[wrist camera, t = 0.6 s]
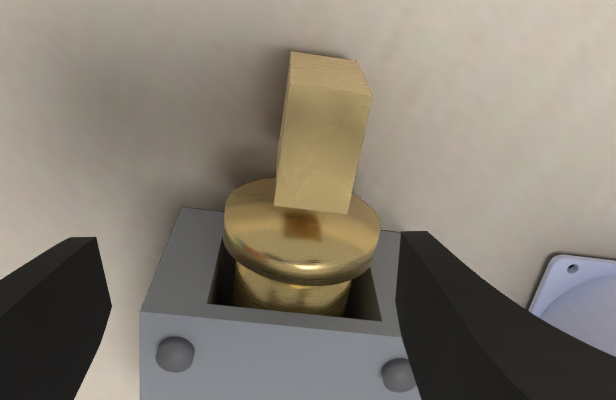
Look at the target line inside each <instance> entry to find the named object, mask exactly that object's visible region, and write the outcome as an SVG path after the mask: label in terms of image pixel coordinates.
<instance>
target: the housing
mask: <svg viewBox="0 0 616 400" xmlns="http://www.w3.org/2000/svg"><path fill="white" fill-rule="evenodd" d="M224 213H225V212H220V211H212V210H203V209H195V208H186V207H182V208H181V210H180V213H179V215H178V218H177V220H176V223H175V225H174V228H173V230H172V233H171V235H170V238H169V240H168V243H167V245H166V248H165V250H164V253H163V255H162V258H161V260H160V263H159V265H158V268H157V270H156V273H155V275H154V278H153V280H152V283H151V285H150V288H149V290H148V293H147V295H146V298H145V300H144V303H143V305H142V308H141V310H140V400H421V397H420V394H419V391H418V388H417V385H416V382H415V378H414V375H413V372H412V369H411V366H410V363H409V360H408V357H407V353H406V350H405V347H404V344H403V340H402V337H401V332H400V327H399V321H398V315H397V309H396V304H395V295H396V284H397V272H398V260H399V249H400V237H401V233H399V232H390V231H382V230H380V234H379V239H378V243H377V247H376V251H375V255H374V259H373V261H372V264H371V265H370V267H369V268H368V269H367V270H366V271H365V272H364V273H363V274H361V275H360V276H358V277H357V278H354V279H352V282H351V287H350V291H349V295H348V300H347V304H346V308H345V313H344V317H343V318H341V317H331V316H321V315H312V314H302V313H292V312H282V311H272V310H262V309H253V308H243V307H233V306H231V305H232V295H233V285H234V276H235V266H236V260H235V259H234V258H233V257H232V256H231V255H230V253H229V252H228V250H227V249H226V247H225V245H224V242H223V224H224Z"/></svg>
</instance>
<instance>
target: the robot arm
mask: <svg viewBox="0 0 616 400" xmlns="http://www.w3.org/2000/svg"><path fill="white" fill-rule="evenodd" d="M572 264H574V266H573V267H571V268H569V269H567V268H568V267H569V266H570V265H572ZM395 304H396V309H397V315H398V321H399V327H400V332H401V337H402V340H403V344H404V347H405V350H406V353H407V357H408V360H409V363H410V366H411V369H412V372H413V375H414V378H415V382H416V385H417V388H418V391H419V394H420V397H421V400H616V261H614V260H605V259H597V258H588V257H580V256H571V255H557V256H555V257H553V258H552V259H551V260H550V262H549V264H548V266H547V268H546V271H545V273H544V275H543V278H542V280H541V282H540V284H539V287H538V289H537V291H536V294H535V296H534V298H533V301H532V303H531V305H530V307H529V310H528V311H527V310H526V309H524V308H523V307H521V306H520V305H518V304H517V303H515V302H514V301H512V300H511V299H509V298H508V297H506V296H505V295H504V294H502V293H501V292H500V291H498V290H497V289H495V288H494V287H493V286H491V285H490V284H489V283H487V282H486V281H485V280H484V279H482V278H481V277H480V276H478V275H477V274H476V273H475V272H474V271H472V270H471V269H470V268H469V267H467V266H466V265H465V264H464V263H463V262H462V261H460V260H459V259H458V258H457V257H456V256H455V255H454V254H452V253H451V252H450V251H449V250H448V249H447V248H446V247H444V246H443V245H442V244H441V243H440V242H439V241H438V240H437V239H435V238H434V237H433V236H432V235H431V234H430V233H428V232H427V231H403V232H401V237H400V249H399V260H398V272H397V284H396V295H395ZM111 308H112V305H111V300H110V296H109V291H108V287H107V283H106V278H105V274H104V270H103V265H102V261H101V256H100V252H99V248H98V243H97V239H96V237H70V238H68V239H66V240H64V241H62V242H60V243H59V244H57V245H55V246H53V247H52V248H50V249H49V250H47V251H45V252H44V253H42V254H41V255H39V256H37V257H36V258H34V259H33V260H31V261H30V262H28V263H26V264H25V265H23V266H22V267H20V268H18V269H17V270H15V271H14V272H12V273H11V274H9V275H7V276H6V277H4V278H3V279H1V280H0V400H74V398H75V396H76V394H77V392H78V390H79V388H80V386H81V384H82V382H83V380H84V377H85V375H86V373H87V371H88V369H89V367H90V365H91V363H92V361H93V359H94V356H95V354H96V352H97V350H98V348H99V346H100V343H101V340H102V337H103V334H104V331H105V328H106V325H107V321H108V318H109V315H110V311H111Z"/></svg>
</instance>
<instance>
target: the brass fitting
mask: <svg viewBox="0 0 616 400" xmlns="http://www.w3.org/2000/svg"><path fill="white" fill-rule="evenodd" d="M371 99H372V93H371V91H370V89H369V87H368V85H367V83H366V80H365V78H364V76H363V74H362V72H361V70H360V68H359V66H358V64H357V61H354V60H347V59H341V58H334V57H327V56H320V55H313V54H307V53H300V52H293V51H291V55H290V62H289V70H288V78H287V85H286V93H285V100H284V108H283V115H282V123H281V131H280V138H279V146H278V153H277V167H276V178H268V179H262V180H257V181H253V182H250V183H247V184H244V185H242V186H240V187H238V188H237V189H235V190H234V191H233V192H232V193H231V194H230V195H229V196H228V198H227V200H226V203H225V213H224V224H223V242H224V245H225V247H226V249H227V250H228V252H229V253H230V255H231V256H232V257H233V258H234V259H235V260H236V266H235V276H234V285H233V295H232V305H231V306H233V307H243V308H253V309H262V310H272V311H282V312H292V313H302V314H312V315H321V316H331V317H341V318H343V317H344V313H345V308H346V304H347V300H348V295H349V291H350V287H351V282H352V279H354V278H357V277H358V276H360V275H361V274H363V273H364V272H365V271H366V270H367V269H368V268H369V267H370V265H371V264H372V261H373V259H374V255H375V251H376V247H377V243H378V239H379V234H380V229H381V225H380V220H379V218H378V216H377V214H376V213H375V211H374V210H373V209H372V208H371V207H370V206H369V205H368V204H367V203H366V202H364V201H363V200H362V199H360V198H359V197H357V196H355V195H353V194H352V189H353V185H354V180H355V175H356V170H357V166H358V161H359V156H360V151H361V146H362V142H363V137H364V132H365V127H366V123H367V118H368V113H369V108H370V104H371Z"/></svg>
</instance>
